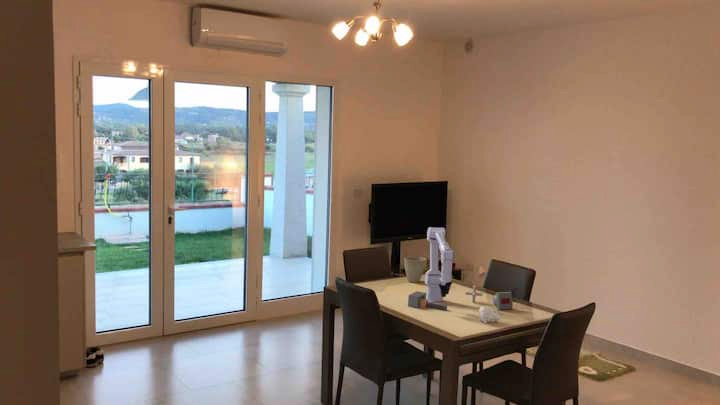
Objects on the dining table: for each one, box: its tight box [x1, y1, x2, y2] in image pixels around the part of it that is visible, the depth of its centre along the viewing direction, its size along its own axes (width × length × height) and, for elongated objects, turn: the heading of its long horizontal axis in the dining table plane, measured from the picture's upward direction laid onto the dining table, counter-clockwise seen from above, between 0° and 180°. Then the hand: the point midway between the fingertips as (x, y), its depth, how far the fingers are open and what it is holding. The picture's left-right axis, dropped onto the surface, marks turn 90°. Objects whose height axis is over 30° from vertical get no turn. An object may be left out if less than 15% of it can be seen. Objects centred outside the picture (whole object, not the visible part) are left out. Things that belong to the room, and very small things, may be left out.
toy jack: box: [465, 285, 484, 303], centre depth 366 cm, size 10×10×10 cm
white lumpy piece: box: [478, 305, 501, 325], centre depth 324 cm, size 6×8×12 cm
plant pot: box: [403, 256, 427, 284], centre depth 413 cm, size 15×15×16 cm
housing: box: [407, 290, 427, 309], centre depth 352 cm, size 6×12×6 cm, turn 152°
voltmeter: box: [492, 287, 518, 311], centre depth 361 cm, size 27×11×10 cm, turn 150°
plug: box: [419, 298, 448, 312], centre depth 348 cm, size 16×4×4 cm, turn 62°
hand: (444, 295), depth 342 cm, fingers open, 7 cm apart
